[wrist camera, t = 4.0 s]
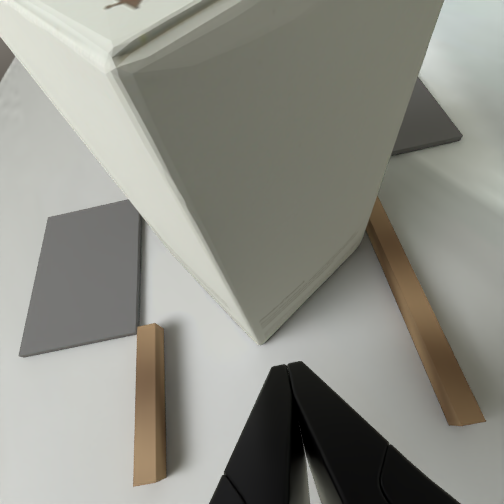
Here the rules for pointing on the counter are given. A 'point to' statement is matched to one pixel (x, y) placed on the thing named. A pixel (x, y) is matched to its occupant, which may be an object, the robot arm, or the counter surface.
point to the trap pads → (128, 255)
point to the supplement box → (235, 125)
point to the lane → (415, 316)
